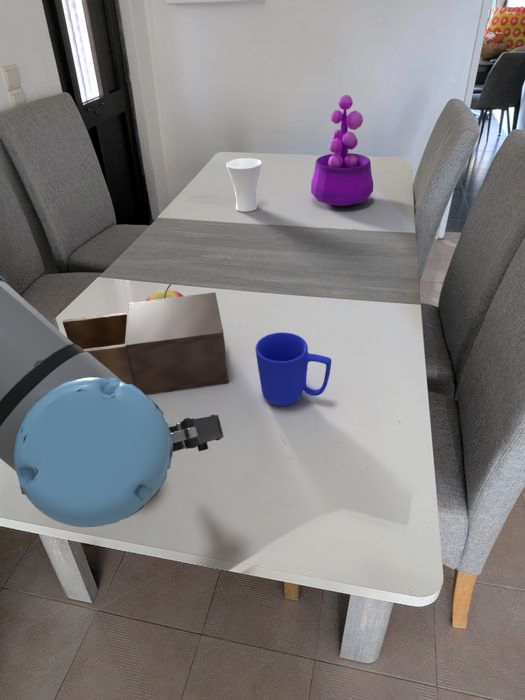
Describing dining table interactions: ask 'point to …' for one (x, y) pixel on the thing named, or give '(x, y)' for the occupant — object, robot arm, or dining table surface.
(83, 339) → the drawer
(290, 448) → the dining table surface
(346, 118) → the decorative plant
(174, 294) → the apple
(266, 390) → the mug
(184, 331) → the cabinet
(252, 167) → the cup
